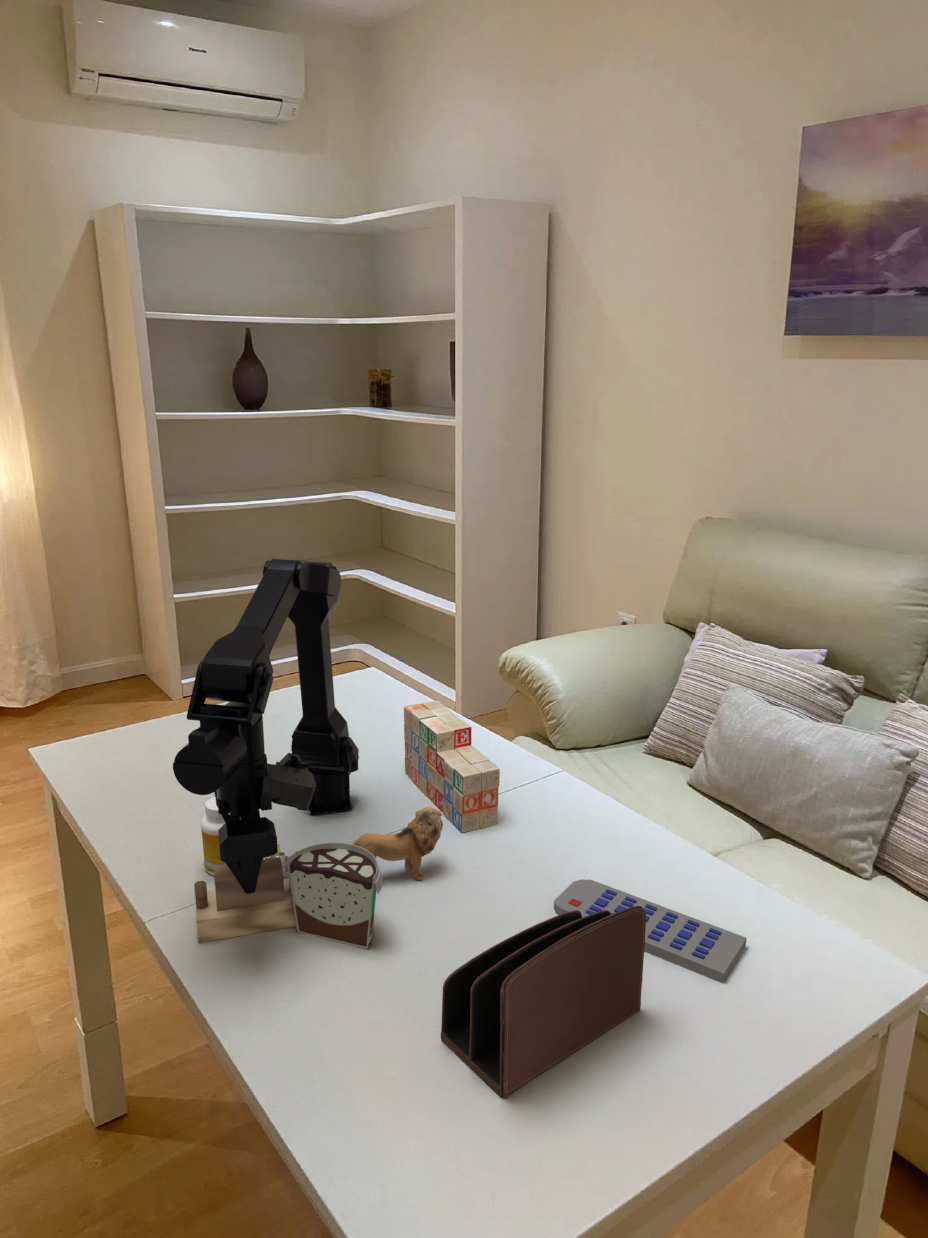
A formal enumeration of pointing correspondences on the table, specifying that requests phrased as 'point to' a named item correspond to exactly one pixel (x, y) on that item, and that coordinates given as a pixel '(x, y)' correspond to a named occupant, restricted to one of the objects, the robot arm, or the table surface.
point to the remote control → (662, 929)
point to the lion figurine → (407, 841)
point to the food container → (335, 892)
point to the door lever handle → (283, 860)
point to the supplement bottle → (211, 836)
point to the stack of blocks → (450, 766)
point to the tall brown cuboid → (266, 888)
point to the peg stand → (240, 915)
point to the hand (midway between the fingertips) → (247, 871)
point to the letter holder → (544, 994)
